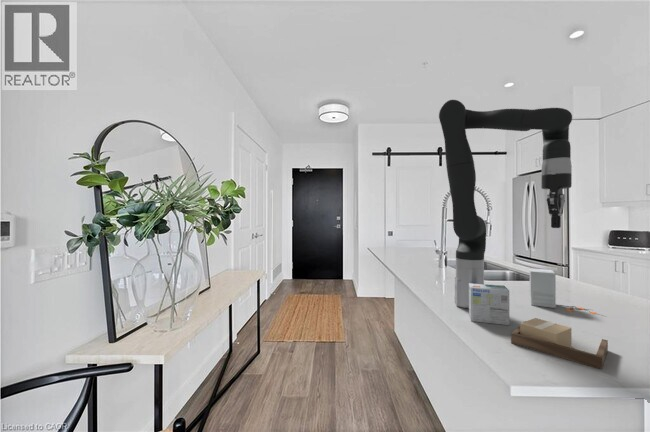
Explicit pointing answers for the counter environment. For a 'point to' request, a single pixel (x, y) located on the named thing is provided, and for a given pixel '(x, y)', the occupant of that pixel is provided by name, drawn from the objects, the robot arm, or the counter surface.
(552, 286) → the supplement box
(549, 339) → the kraft carton
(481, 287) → the light bulb box
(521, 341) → the brown wooden u-shaped piece
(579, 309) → the key chain
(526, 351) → the counter surface
